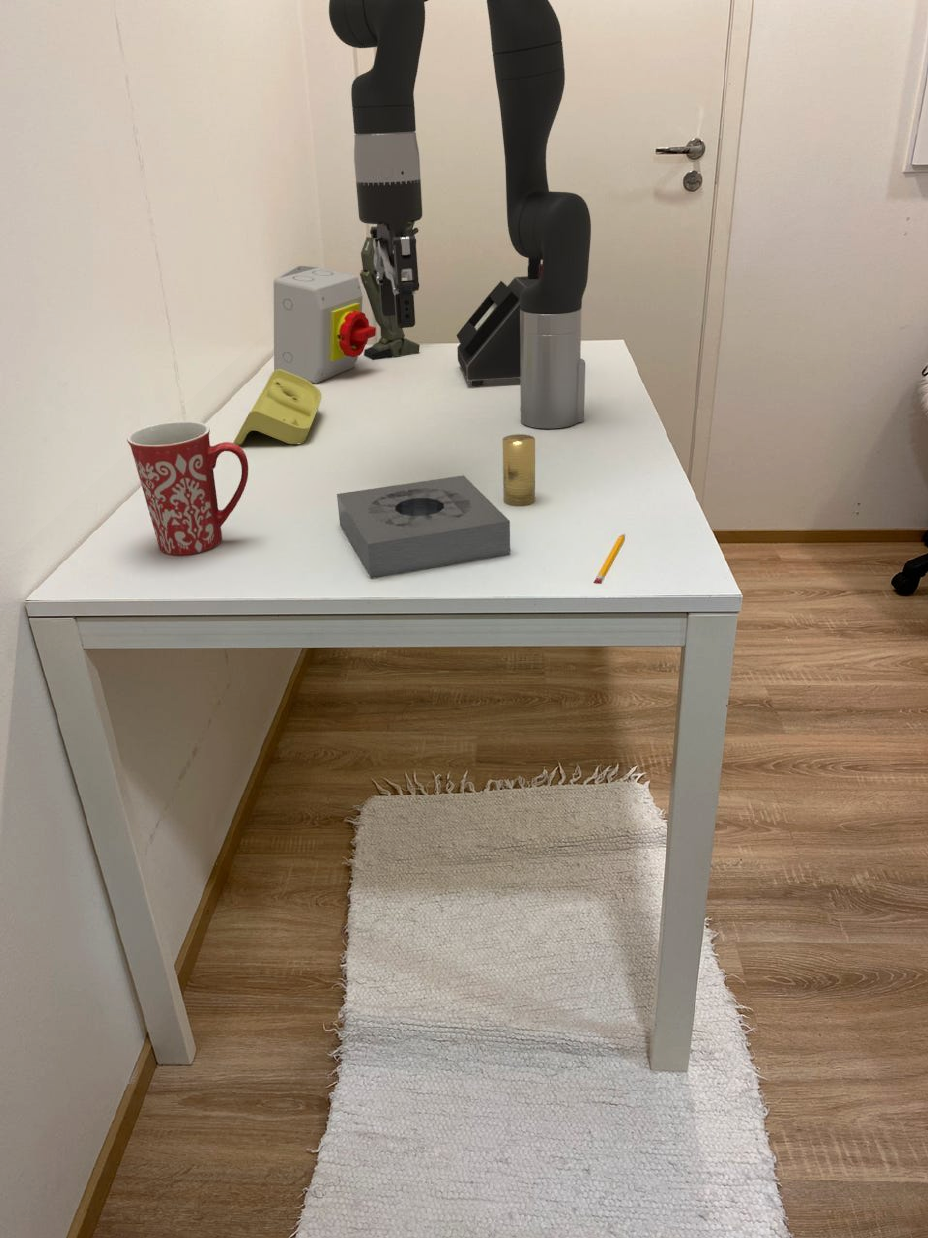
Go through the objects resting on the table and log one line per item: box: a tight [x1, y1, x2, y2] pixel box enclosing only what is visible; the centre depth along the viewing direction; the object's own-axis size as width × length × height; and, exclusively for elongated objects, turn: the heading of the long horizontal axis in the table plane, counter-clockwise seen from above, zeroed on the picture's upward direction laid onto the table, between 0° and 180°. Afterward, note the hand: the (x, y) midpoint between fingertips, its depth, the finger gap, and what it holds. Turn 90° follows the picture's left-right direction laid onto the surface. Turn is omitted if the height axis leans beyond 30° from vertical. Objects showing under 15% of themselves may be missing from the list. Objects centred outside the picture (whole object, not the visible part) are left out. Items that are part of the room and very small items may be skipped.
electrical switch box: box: [273, 264, 377, 385], centre depth 176 cm, size 15×15×20 cm
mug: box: [126, 420, 249, 556], centre depth 107 cm, size 13×9×14 cm
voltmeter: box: [456, 258, 542, 387], centre depth 171 cm, size 16×16×20 cm
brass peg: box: [502, 433, 536, 507], centre depth 117 cm, size 4×4×8 cm
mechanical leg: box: [359, 221, 421, 361], centre depth 188 cm, size 14×7×30 cm, turn 117°
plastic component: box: [232, 369, 323, 446], centre depth 150 cm, size 20×7×10 cm
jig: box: [336, 475, 511, 579], centre depth 108 cm, size 16×16×4 cm
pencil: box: [593, 533, 626, 585], centre depth 103 cm, size 1×13×1 cm, turn 159°
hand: (397, 320), depth 116 cm, fingers open, 8 cm apart
